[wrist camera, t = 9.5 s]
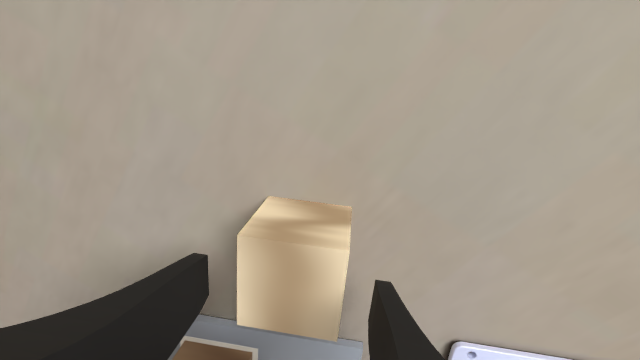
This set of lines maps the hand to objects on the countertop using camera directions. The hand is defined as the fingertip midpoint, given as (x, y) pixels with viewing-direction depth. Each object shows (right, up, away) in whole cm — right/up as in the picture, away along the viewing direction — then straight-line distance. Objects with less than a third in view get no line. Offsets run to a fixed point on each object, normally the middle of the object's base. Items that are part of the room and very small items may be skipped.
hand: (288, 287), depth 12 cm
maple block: (+1, +1, +4) cm, 4 cm away
